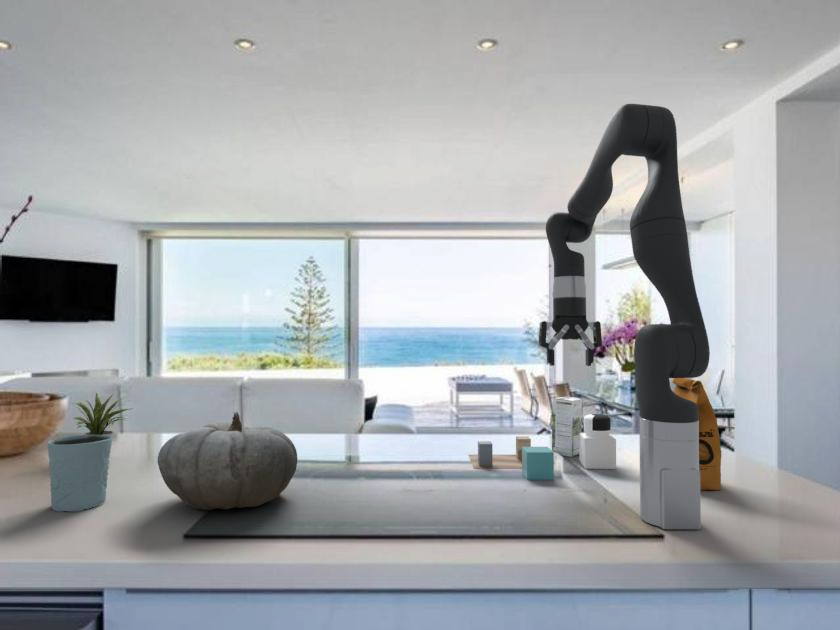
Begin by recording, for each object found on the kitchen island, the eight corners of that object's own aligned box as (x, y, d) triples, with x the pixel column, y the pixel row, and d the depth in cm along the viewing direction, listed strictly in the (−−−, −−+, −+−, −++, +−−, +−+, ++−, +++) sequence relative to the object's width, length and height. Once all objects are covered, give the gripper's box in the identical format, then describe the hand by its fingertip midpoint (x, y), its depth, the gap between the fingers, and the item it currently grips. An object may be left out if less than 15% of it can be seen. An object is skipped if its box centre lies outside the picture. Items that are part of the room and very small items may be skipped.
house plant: (100, 467, 130) (101, 397, 131) (47, 465, 132) (48, 396, 133) (140, 454, 144) (141, 390, 145) (92, 452, 146) (93, 389, 147)
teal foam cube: (553, 484, 117) (553, 452, 117) (526, 484, 117) (526, 452, 117) (547, 477, 123) (547, 446, 123) (522, 477, 123) (521, 446, 123)
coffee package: (677, 491, 112) (676, 381, 113) (657, 474, 125) (656, 375, 125) (729, 492, 111) (728, 381, 112) (703, 476, 124) (702, 376, 124)
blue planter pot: (37, 515, 97) (38, 445, 97) (58, 498, 107) (59, 435, 107) (102, 510, 100) (103, 442, 100) (117, 494, 110) (117, 432, 110)
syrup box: (561, 450, 149) (560, 396, 149) (582, 454, 145) (582, 397, 146) (551, 454, 145) (551, 398, 145) (573, 457, 141) (572, 399, 141)
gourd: (145, 517, 88) (161, 406, 92) (155, 500, 111) (167, 411, 114) (305, 515, 97) (312, 414, 101) (283, 499, 120) (290, 417, 123)
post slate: (492, 465, 128) (492, 444, 128) (479, 465, 128) (479, 444, 128) (490, 462, 131) (490, 441, 131) (477, 462, 131) (477, 441, 131)
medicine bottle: (609, 462, 136) (608, 412, 136) (616, 469, 129) (616, 417, 129) (579, 461, 137) (578, 412, 137) (584, 469, 130) (584, 417, 130)
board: (545, 473, 126) (545, 446, 126) (473, 473, 126) (473, 446, 126) (532, 458, 140) (532, 434, 140) (468, 458, 140) (468, 434, 140)
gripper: (542, 295, 129) (543, 366, 128) (604, 295, 128) (605, 366, 128) (536, 298, 136) (536, 365, 135) (595, 297, 136) (596, 364, 135)
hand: (570, 365), depth 132 cm, fingers open, 8 cm apart
